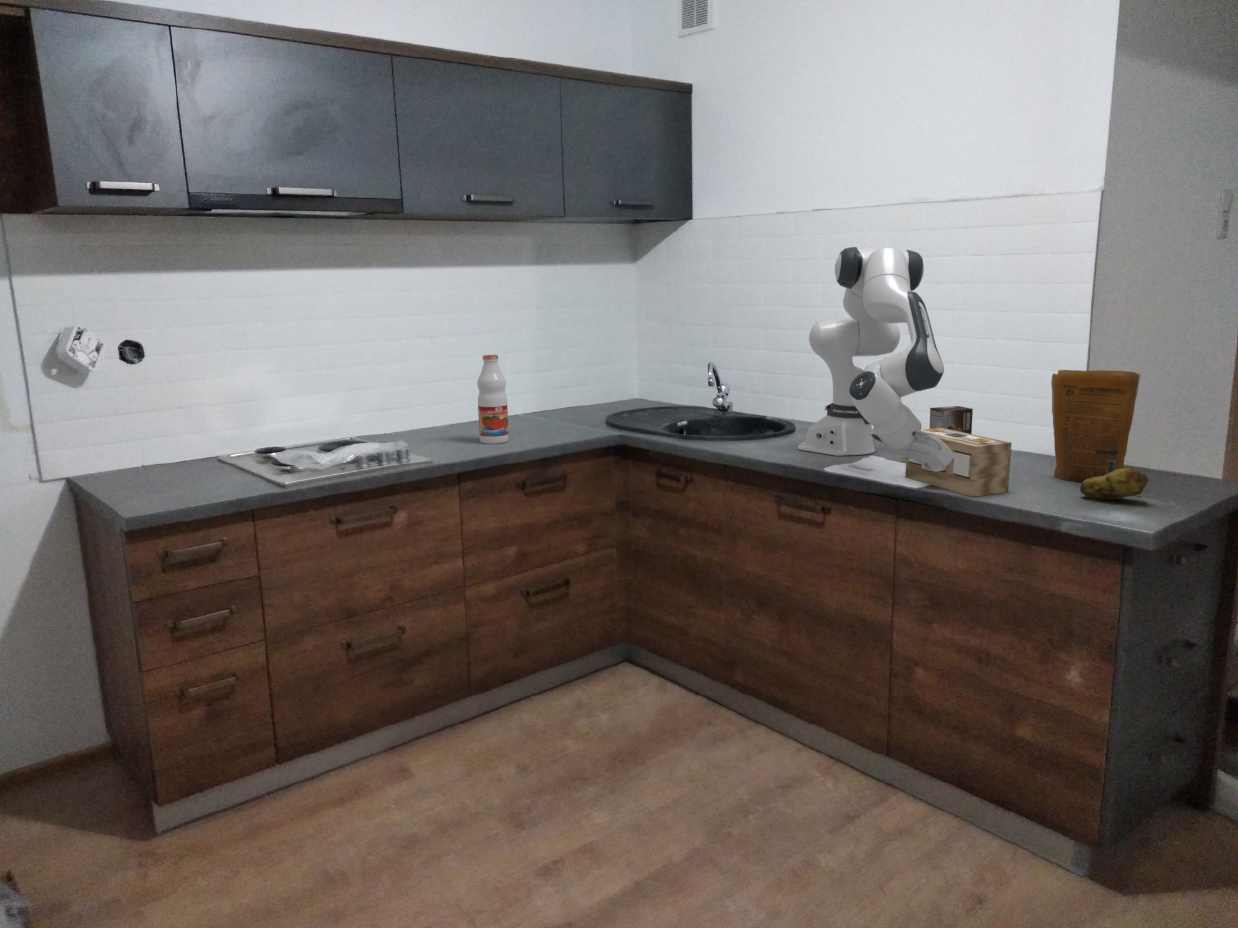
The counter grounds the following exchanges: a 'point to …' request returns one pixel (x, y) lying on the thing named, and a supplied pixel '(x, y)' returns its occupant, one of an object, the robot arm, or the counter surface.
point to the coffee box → (952, 418)
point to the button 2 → (962, 463)
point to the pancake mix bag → (1091, 421)
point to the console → (985, 464)
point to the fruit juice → (492, 403)
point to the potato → (1115, 484)
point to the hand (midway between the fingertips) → (932, 467)
